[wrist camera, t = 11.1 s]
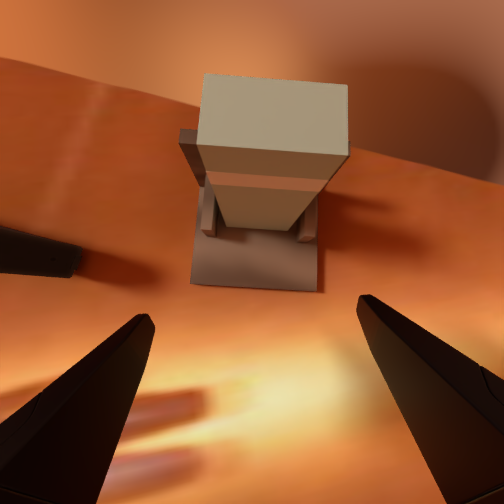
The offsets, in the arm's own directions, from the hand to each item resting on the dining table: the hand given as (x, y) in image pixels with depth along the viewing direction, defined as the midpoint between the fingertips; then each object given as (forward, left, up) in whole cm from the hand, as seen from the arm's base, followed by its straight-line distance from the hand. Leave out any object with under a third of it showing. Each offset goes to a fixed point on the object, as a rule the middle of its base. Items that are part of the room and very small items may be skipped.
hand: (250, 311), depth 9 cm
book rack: (+5, -5, -13) cm, 15 cm away
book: (+6, -6, -12) cm, 15 cm away
